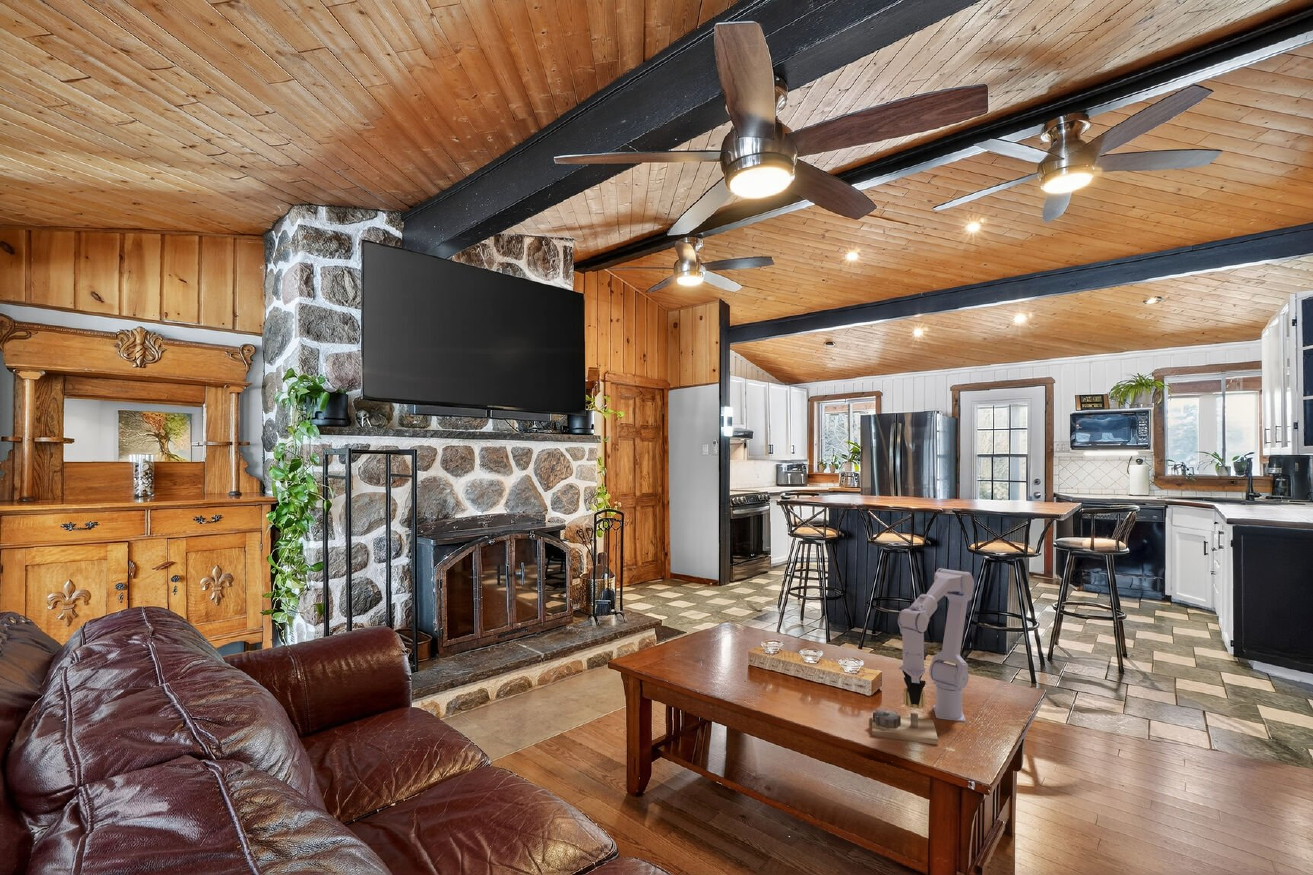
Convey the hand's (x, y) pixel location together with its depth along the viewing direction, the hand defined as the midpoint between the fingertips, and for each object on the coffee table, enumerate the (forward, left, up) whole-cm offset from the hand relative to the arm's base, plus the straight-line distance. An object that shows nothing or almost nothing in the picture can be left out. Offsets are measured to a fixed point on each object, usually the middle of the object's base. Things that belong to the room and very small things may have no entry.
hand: (914, 699), depth 175 cm
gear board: (0, -3, -9) cm, 10 cm away
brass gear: (0, 0, -1) cm, 1 cm away
